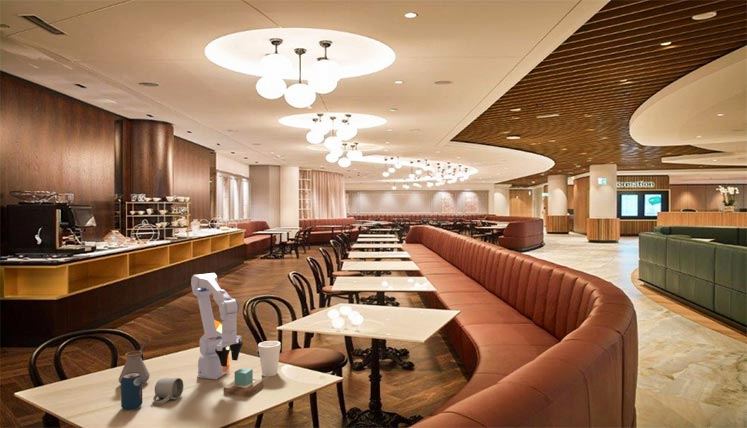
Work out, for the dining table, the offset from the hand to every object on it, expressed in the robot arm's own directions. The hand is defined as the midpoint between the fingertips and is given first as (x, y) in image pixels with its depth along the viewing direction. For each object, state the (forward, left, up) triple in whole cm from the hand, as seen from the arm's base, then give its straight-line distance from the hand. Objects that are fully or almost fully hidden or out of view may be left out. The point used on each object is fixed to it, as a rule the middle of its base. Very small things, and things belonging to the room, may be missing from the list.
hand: (229, 363), depth 196 cm
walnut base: (+8, -2, -10) cm, 13 cm away
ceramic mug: (-15, -18, -10) cm, 25 cm away
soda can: (-22, -28, -10) cm, 37 cm away
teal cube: (+8, -2, -7) cm, 10 cm away
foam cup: (+9, +17, -10) cm, 21 cm away
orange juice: (-20, +21, -10) cm, 31 cm away
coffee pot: (-40, -5, -10) cm, 42 cm away
